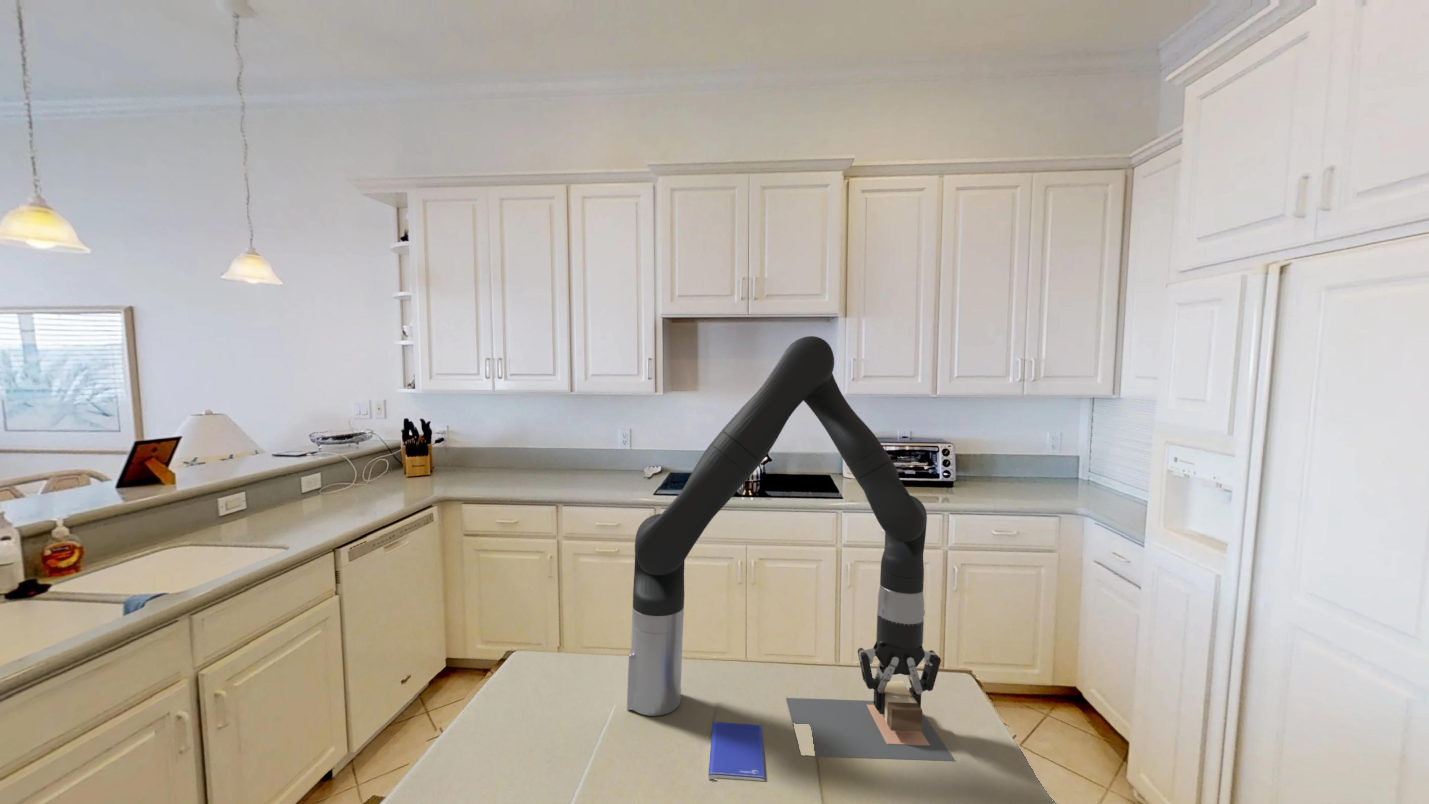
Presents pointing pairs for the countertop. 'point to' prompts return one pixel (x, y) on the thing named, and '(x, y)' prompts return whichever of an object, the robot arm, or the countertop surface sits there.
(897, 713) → the beige rectangular block
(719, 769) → the hard drive
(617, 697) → the countertop surface
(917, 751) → the rubber mat
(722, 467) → the robot arm
